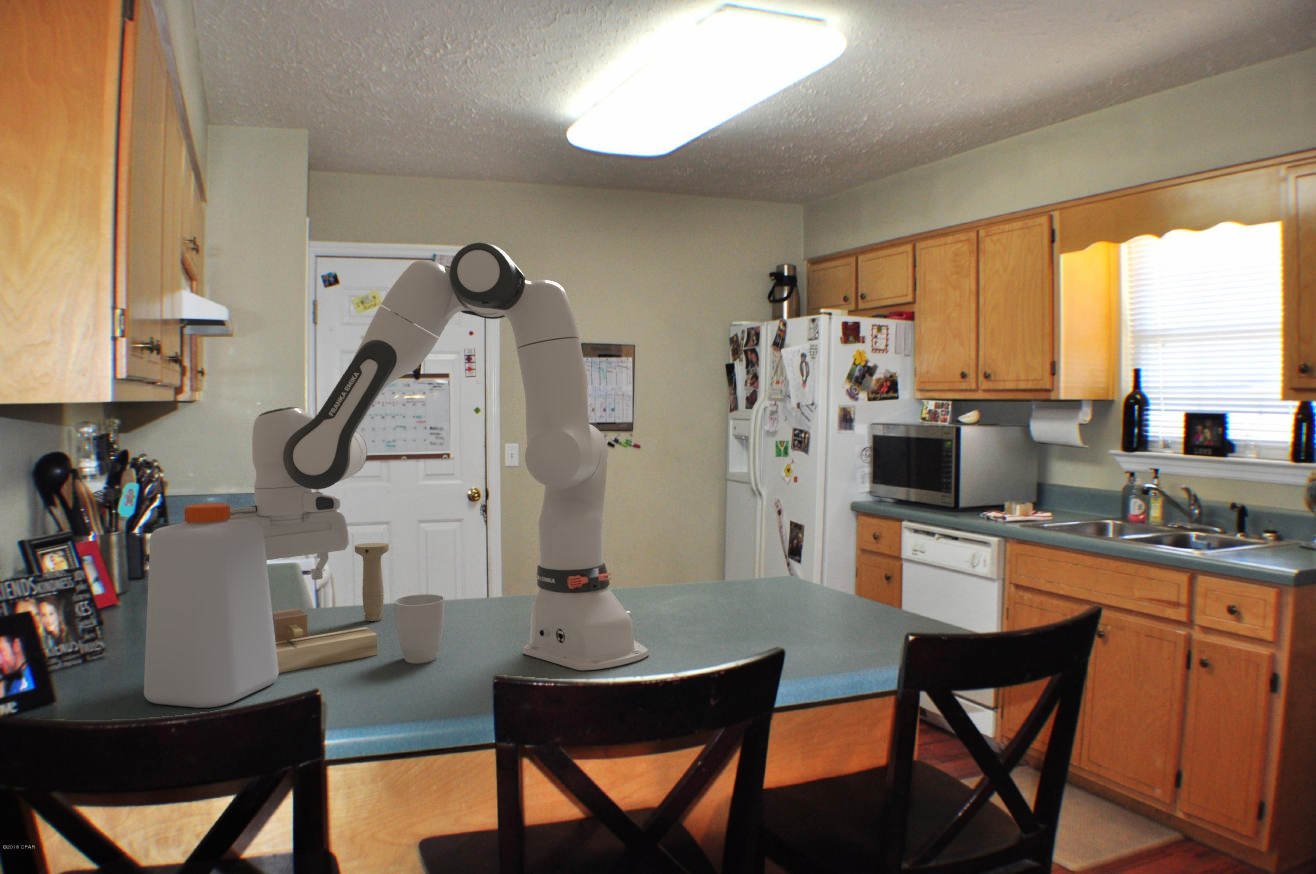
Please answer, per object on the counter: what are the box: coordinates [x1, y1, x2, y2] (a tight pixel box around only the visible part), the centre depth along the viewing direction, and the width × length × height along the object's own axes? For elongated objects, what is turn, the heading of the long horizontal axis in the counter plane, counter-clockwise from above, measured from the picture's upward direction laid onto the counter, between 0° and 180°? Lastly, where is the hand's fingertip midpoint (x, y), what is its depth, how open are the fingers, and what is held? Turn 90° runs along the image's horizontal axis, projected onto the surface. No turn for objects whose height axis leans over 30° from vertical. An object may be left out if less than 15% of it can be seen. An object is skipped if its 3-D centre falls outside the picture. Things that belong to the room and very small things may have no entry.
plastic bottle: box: [143, 502, 280, 709], centre depth 127 cm, size 15×15×28 cm
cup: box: [393, 593, 446, 664], centre depth 142 cm, size 8×8×10 cm
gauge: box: [272, 607, 309, 642], centre depth 144 cm, size 11×5×7 cm, turn 36°
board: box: [275, 626, 379, 674], centre depth 143 cm, size 6×16×4 cm, turn 126°
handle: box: [354, 542, 390, 623], centre depth 168 cm, size 5×6×15 cm
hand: (288, 583), depth 146 cm, fingers open, 8 cm apart
